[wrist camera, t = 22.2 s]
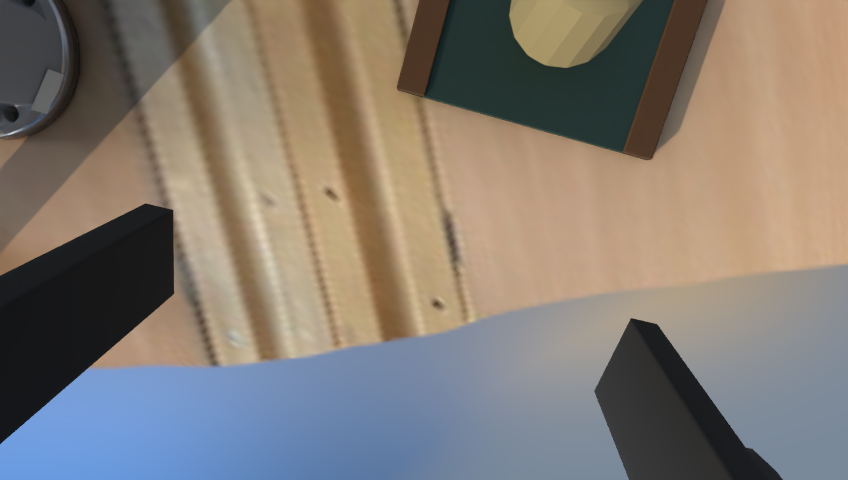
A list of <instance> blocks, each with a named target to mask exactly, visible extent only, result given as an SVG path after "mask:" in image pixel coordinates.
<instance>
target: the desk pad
mask: <svg viewBox="0 0 848 480" xmlns="http://www.w3.org/2000/svg"><path fill="white" fill-rule="evenodd" d="M706 3H707V0H643V1H642V2H641V3H640V5H639V6H638V7H637V9H636V10H635V11H634V12H633V14H632V15H631V16H630V18H629V19H628V20H627V21H626V23H625V24H624V25H623V26H622V28H621V29H620V30H619V32H618V33H617V34H616V35H615V37H614V38H613V39H612V41H611V42H610V43H609V44H608V46H607V47H606V48H605V49H604V50H602V51H601V52H600V53H599V54H597V55H596V56H595V57H593V58H592V59H591V60H590V61H588V62H586V63H582V64H579V65H575V66H572V67H568V68H562V67H554V66H546V65H543V64H542V63H540V62H538V61H536V60H535V59H533V58H531V57H530V56H528V55H527V54H526V53H525V51H524V50H523V48H522V47H521V46H520V44H519V43H518V41H517V40H516V39H515V37H514V34H513V29H512V25H511V21H510V17H509V14H510V7H511V0H419V4H418V8H417V12H416V16H415V20H414V23H413V27H412V31H411V35H410V39H409V43H408V46H407V50H406V54H405V58H404V62H403V66H402V69H401V73H400V77H399V81H398V85H397V89H398V90H399V91H403V92H406V93H410V94H413V95H417V96H420V97H424V98H427V99H431V100H435V101H438V102H442V103H445V104H449V105H452V106H456V107H460V108H463V109H467V110H470V111H474V112H477V113H481V114H484V115H488V116H492V117H495V118H499V119H502V120H506V121H509V122H513V123H517V124H520V125H524V126H527V127H531V128H534V129H538V130H541V131H545V132H549V133H552V134H556V135H559V136H563V137H566V138H570V139H573V140H577V141H581V142H584V143H588V144H591V145H595V146H598V147H602V148H606V149H609V150H613V151H616V152H620V153H623V154H627V155H630V156H634V157H638V158H641V159H645V160H651V159H652V157H653V154H654V152H655V149H656V146H657V143H658V140H659V137H660V134H661V132H662V129H663V126H664V123H665V120H666V117H667V114H668V112H669V109H670V106H671V103H672V100H673V97H674V94H675V92H676V89H677V86H678V83H679V80H680V77H681V74H682V71H683V69H684V66H685V63H686V60H687V57H688V54H689V51H690V49H691V46H692V43H693V40H694V37H695V34H696V31H697V29H698V26H699V23H700V20H701V17H702V14H703V11H704V8H705V6H706Z"/></svg>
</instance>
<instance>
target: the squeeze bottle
mask: <svg viewBox="0 0 848 480" xmlns="http://www.w3.org/2000/svg"><path fill="white" fill-rule="evenodd" d="M642 1H643V0H511V7H510V14H509V17H510V21H511V25H512V29H513V34H514V37H515V39H516V40H517V41H518V43H519V44H520V46H521V47H522V48H523V50H524V51H525V53H526V54H527V55H528V56H530V57H531V58H533V59H535V60H536V61H538V62H540V63H542V64H543V65H546V66H554V67H562V68H568V67H572V66H575V65H579V64H582V63H586V62H588V61H590V60H591V59H592V58H593V57H595V56H596V55H597V54H599V53H600V52H601V51H602V50H604V49H605V48H606V47H607V46H608V44H609V43H610V42H611V41H612V39H613V38H614V37H615V35H616V34H617V33H618V32H619V30H620V29H621V28H622V26H623V25H624V24H625V23H626V21H627V20H628V19H629V18H630V16H631V15H632V14H633V12H634V11H635V10H636V9H637V7H638V6H639V5H640V3H641V2H642Z"/></svg>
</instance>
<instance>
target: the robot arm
mask: <svg viewBox="0 0 848 480" xmlns="http://www.w3.org/2000/svg"><path fill="white" fill-rule="evenodd" d="M78 71H79V46H78V40H77V35H76V31H75V28H74V25H73V22H72V20H71V17H70V15H69V13H68V11H67V9H66V7H65V6H64V4H63V2H62V1H61V0H0V139H16V138H22V137H26V136H29V135H32V134H34V133H36V132H38V131H40V130H42V129H44V128H45V127H47V126H48V125H49V124H51V123H52V122H53V121H54V120H55V119H56V118H57V117H58V116H59V115H60V114H61V113H62V111H63V110H64V108H65V107H66V106H67V104H68V102H69V100H70V98H71V96H72V94H73V91H74V89H75V85H76V82H77V77H78ZM173 294H174V253H173V210H171V209H167V208H162V207H158V206H154V205H150V204H144V205H142V206H140V207H138V208H136V209H134V210H132V211H130V212H128V213H126V214H124V215H122V216H120V217H118V218H115V219H113V220H111V221H109V222H107V223H105V224H103V225H101V226H99V227H97V228H95V229H93V230H91V231H89V232H87V233H85V234H83V235H81V236H79V237H77V238H75V239H73V240H71V241H69V242H67V243H65V244H63V245H61V246H59V247H57V248H55V249H53V250H51V251H49V252H47V253H45V254H43V255H41V256H39V257H37V258H35V259H33V260H31V261H29V262H27V263H25V264H23V265H21V266H19V267H17V268H15V269H13V270H11V271H9V272H7V273H5V274H3V275H1V276H0V444H1V443H2V442H3V441H4V440H5V439H7V437H9V436H10V435H11V434H12V433H13V432H15V430H17V429H18V428H19V427H20V426H22V425H23V424H24V423H25V422H26V421H27V420H29V419H30V418H31V417H32V416H33V415H34V414H35V413H36V412H38V411H39V410H40V409H41V408H42V407H44V406H45V405H46V404H47V403H48V402H49V401H50V400H52V399H53V398H54V397H55V396H56V395H57V394H58V393H60V392H61V391H62V390H63V389H64V388H65V387H66V386H68V385H69V384H70V383H71V382H73V381H74V380H75V379H76V378H77V377H78V376H79V375H80V374H82V373H83V372H84V371H85V370H86V369H88V368H89V367H90V366H91V365H92V364H93V363H94V362H96V361H97V360H98V359H99V358H100V357H101V356H103V355H104V354H105V353H106V352H107V351H108V350H110V349H111V348H112V347H113V346H114V345H115V344H116V343H118V342H119V341H120V340H121V339H122V338H123V337H125V336H126V335H127V334H128V333H129V332H130V331H132V330H133V329H134V328H135V327H136V326H137V325H138V324H140V323H141V322H142V321H143V320H144V319H145V318H147V317H148V316H149V315H150V314H151V313H152V312H154V311H155V310H156V309H157V308H158V307H159V306H160V305H162V304H163V303H164V302H165V301H166V300H167V299H169V298H170V297H171V296H172V295H173ZM595 394H596V397H597V399H598V402H599V404H600V407H601V409H602V412H603V414H604V417H605V420H606V422H607V425H608V427H609V429H610V432H611V435H612V437H613V440H614V442H615V445H616V447H617V450H618V452H619V455H620V458H621V460H622V462H623V465H624V468H625V470H626V473H627V475H628V478H629V480H783V479H782V478H781V477H780V476H779V474H778V473H777V472H776V471H775V470H774V469H773V468H772V467H771V466H770V465H769V464H768V463H767V462H766V461H765V460H764V459H762V458H761V457H760V456H759V455H758V454H757V453H756V452H755V451H754V450H753V449H750V448H745V446H744V445H743V443H742V442H741V441H740V439H739V438H738V436H737V435H736V434H735V432H734V431H733V429H732V428H731V427H730V425H729V424H728V422H727V421H726V420H725V418H724V417H723V416H722V414H721V413H720V411H719V410H718V409H717V407H716V406H715V404H714V403H713V402H712V400H711V399H710V398H709V396H708V395H707V393H706V392H705V390H704V389H703V388H702V386H701V385H700V384H699V382H698V381H697V379H696V378H695V377H694V375H693V374H692V372H691V371H690V369H689V368H688V367H687V365H686V364H685V362H684V361H683V360H682V358H681V357H680V356H679V354H678V353H677V351H676V350H675V349H674V347H673V346H672V344H671V343H670V342H669V340H668V339H667V337H666V336H665V335H664V333H663V332H662V330H661V329H660V328H659V326H658V325H657V324H653V323H649V322H645V321H641V320H637V319H632V318H631V319H630V321H629V323H628V325H627V328H626V329H625V331H624V333H623V335H622V337H621V339H620V341H619V343H618V345H617V347H616V349H615V351H614V353H613V355H612V357H611V359H610V361H609V363H608V365H607V367H606V369H605V371H604V373H603V375H602V377H601V379H600V381H599V383H598V385H597V387H596V389H595Z"/></svg>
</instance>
